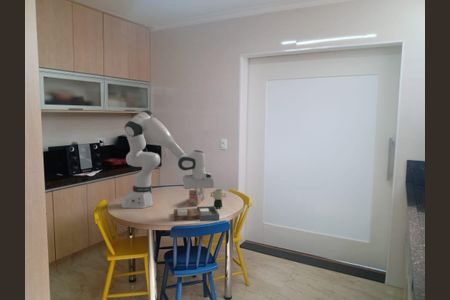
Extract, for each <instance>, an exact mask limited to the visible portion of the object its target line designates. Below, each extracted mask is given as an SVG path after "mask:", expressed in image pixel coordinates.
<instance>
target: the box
mask: <svg viewBox="0 0 450 300" xmlns="http://www.w3.org/2000/svg"><path fill="white" fill-rule="evenodd" d="M196 208H198V211H199V209H206V208H208V209H209V215H200V220H199V221H200V222H201V221H219V220H220V214H219V212H218V211H217V208H215V207H214V205H212V206H211V205H210V206H207V205H206V206H196ZM199 214H200V213H199Z"/></svg>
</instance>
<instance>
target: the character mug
mask: <svg viewBox="0 0 450 300" xmlns="http://www.w3.org/2000/svg"><path fill="white" fill-rule="evenodd" d="M212 191H213V192H210V197H211V198H213V199H214V200H213V202H214V203H213V206H214V207H215V208H216V209H220V208H223V202H222V201H223V199H224V198H225V197H226V194H227V193H226V192H224V190H223V188H214V189H213V190H212Z"/></svg>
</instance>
